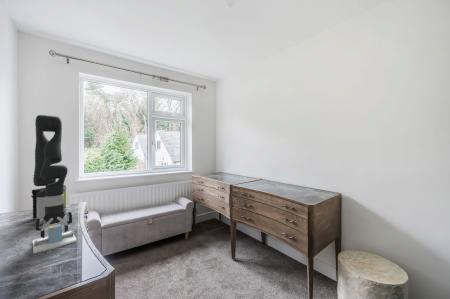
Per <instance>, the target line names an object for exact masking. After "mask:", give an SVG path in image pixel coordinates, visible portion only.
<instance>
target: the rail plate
mask: <svg viewBox="0 0 450 299" xmlns="http://www.w3.org/2000/svg"><path fill="white" fill-rule="evenodd" d="M77 242H78V240H77V238H76V236H75V234H74V232H73V230H68V231H66V233H65V232H62V241H58V242H54V243H51V244H49V239H48V236H45V238H43V237H40V238H36V239H33V240H32V253H33V254H39V253H41V252H45V251H49V250H52V249H55V248H59V247H62V246H63V247H64V246H65V245H70V244H73V243H77Z"/></svg>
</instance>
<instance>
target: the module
mask: <svg viewBox="0 0 450 299" xmlns="http://www.w3.org/2000/svg"><path fill="white" fill-rule="evenodd" d="M61 224H62V223H61ZM61 224H55V225H54V224H53V225H48V226H47V237H48V239H49V244H51V243H54V242H58V241H62V233H63V227H62V225H61Z"/></svg>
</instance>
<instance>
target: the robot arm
mask: <svg viewBox="0 0 450 299" xmlns="http://www.w3.org/2000/svg"><path fill="white" fill-rule="evenodd" d="M62 121H63V120H62V118H61V117H59V116H57V115H45V114H38V115H37V116H36V118H35V149H34V171H33V172H34V173H33V179H32V180H33V181H32V183H33V185H34V186H35V187H44V188H45V190H43V191H40V192H38V193H37V218H36V219H35V228H34V229H35V231H36V232H38V231H39V232H40V238H45V237H46V236H45V232H46V231H45V229H46V228H48V227H49V226H50V225H54V224H58V223H61V224H63V226H64V228H63V231H64V232H65V233H66V232H69V225H71V224H72V223H73V215H72V214H73V213H72V211H68V212H64V196H63V185H64V184H65V181H66V177H67V175H68V171H69V170H68V167H67V165H64V164H60V163H61V162H62V160H63V158H62V156H63V155H62V147H61V146H62V135H63V134H62V132H63V122H62ZM44 132H47V133H50V132H51V133H54V134H53V136H52V137H51V138H50V140H49V139H48V138H47V136H46V135H45V133H44ZM58 164H59V165H58ZM64 186H65V185H64ZM65 217H68V220H67V221H66V219H64V218H65ZM40 225H42V226H41V227H40ZM64 232H63V233H64Z"/></svg>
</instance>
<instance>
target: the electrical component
mask: <svg viewBox="0 0 450 299" xmlns="http://www.w3.org/2000/svg"><path fill="white" fill-rule="evenodd" d="M43 190H45V187H41V188H36V189H32V190H31V194H32V195H30V197H31V198H32V219H33V218H37V193H38V192H40V191H43ZM66 191H67V186H66V185H63V196H64V211H65V212H67V206H66V204H67V202H66V200H67V199H66V197H67V195H66Z"/></svg>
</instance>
